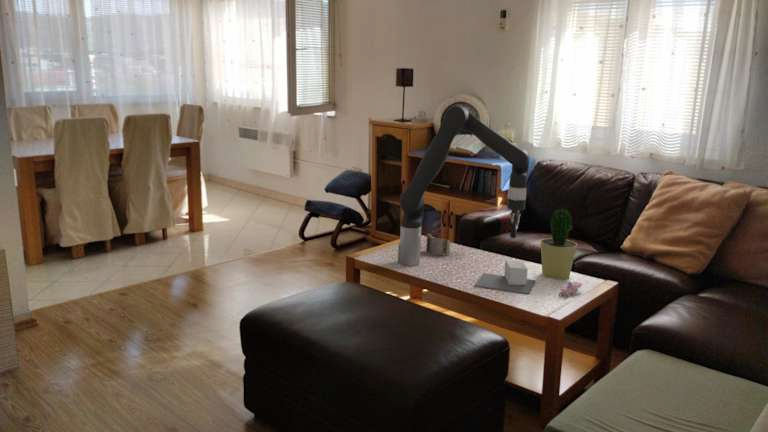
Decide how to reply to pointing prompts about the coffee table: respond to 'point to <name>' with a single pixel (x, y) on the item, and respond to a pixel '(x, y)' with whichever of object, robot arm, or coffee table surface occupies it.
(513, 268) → the supplement box
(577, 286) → the pink unicorn figurine
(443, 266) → the coffee table surface
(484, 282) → the mat
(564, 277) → the potted cactus
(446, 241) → the grey upright block
